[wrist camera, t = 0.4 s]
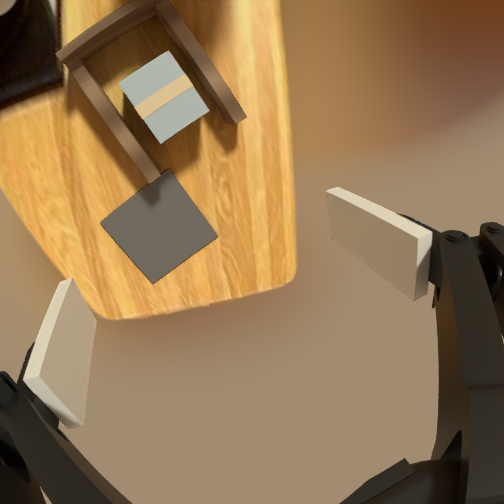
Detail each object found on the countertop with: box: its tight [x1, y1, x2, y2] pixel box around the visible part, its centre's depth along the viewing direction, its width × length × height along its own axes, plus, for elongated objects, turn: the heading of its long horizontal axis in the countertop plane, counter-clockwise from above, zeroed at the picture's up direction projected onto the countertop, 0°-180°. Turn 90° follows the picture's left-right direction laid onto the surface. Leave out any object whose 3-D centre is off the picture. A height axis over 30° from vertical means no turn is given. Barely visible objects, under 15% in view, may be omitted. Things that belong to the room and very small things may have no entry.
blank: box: [118, 50, 209, 144], centre depth 30 cm, size 8×6×6 cm
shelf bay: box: [56, 0, 247, 183], centre depth 29 cm, size 18×13×6 cm
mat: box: [100, 169, 218, 283], centre depth 39 cm, size 11×11×1 cm
